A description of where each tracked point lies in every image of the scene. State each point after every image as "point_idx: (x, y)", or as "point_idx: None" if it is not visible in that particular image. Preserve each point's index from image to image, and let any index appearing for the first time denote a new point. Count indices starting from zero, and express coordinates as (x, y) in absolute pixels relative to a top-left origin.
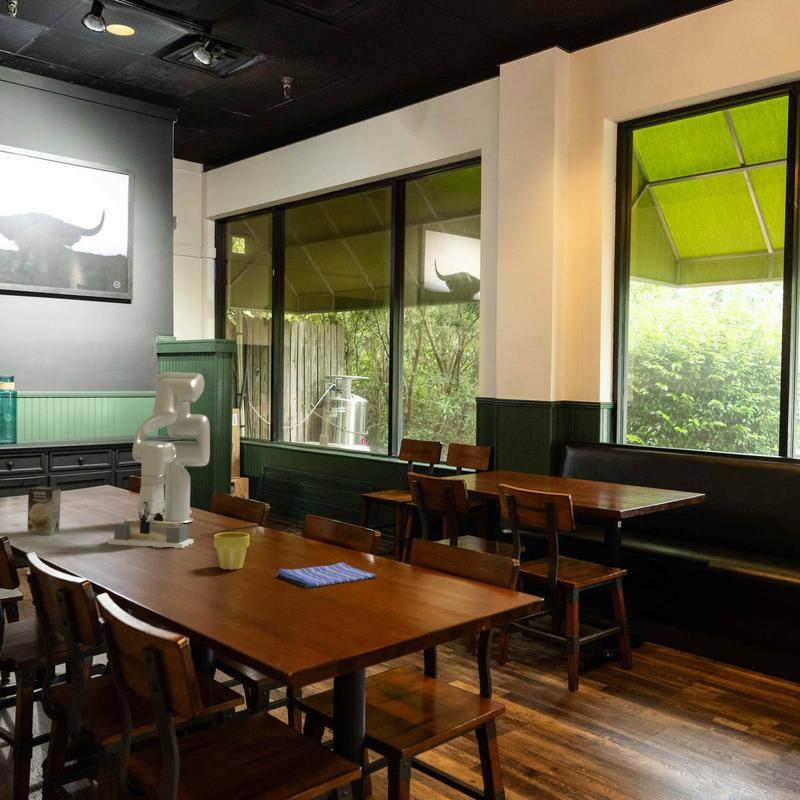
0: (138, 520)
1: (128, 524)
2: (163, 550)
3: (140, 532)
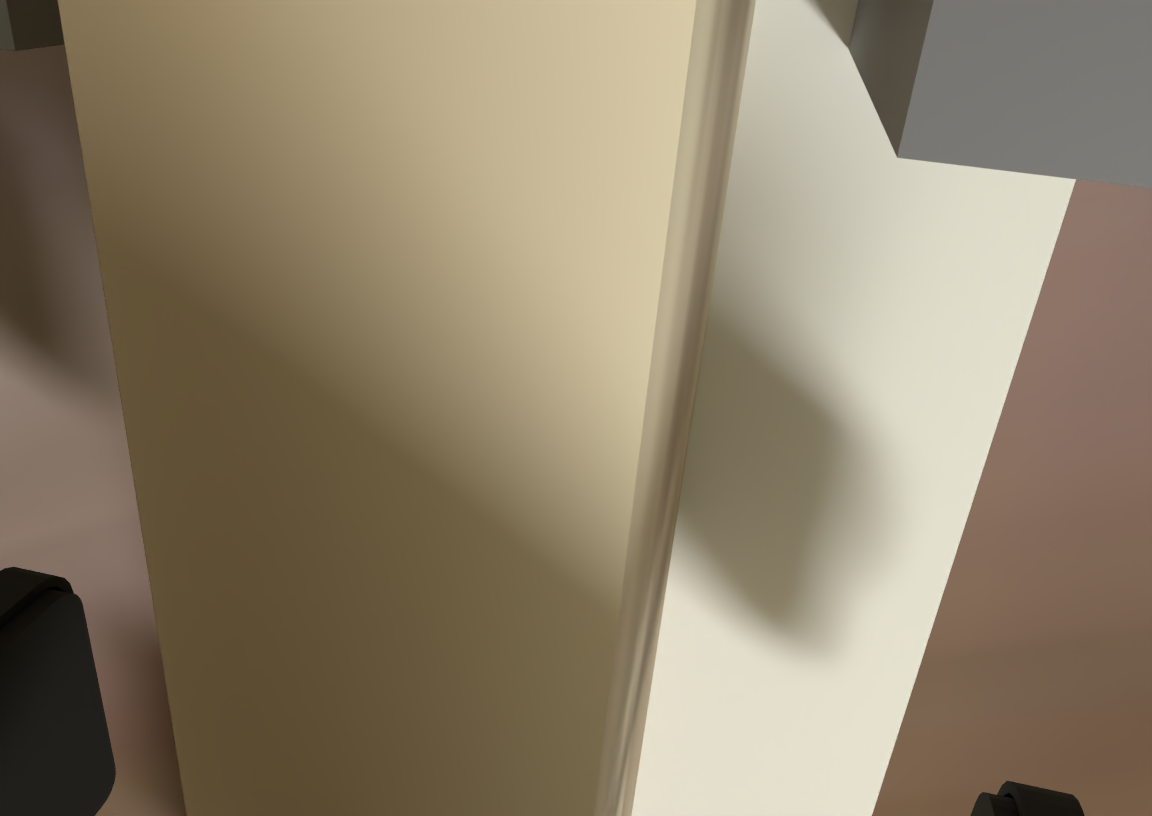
0: (469, 558)
1: (6, 11)
2: (118, 809)
3: (5, 586)
